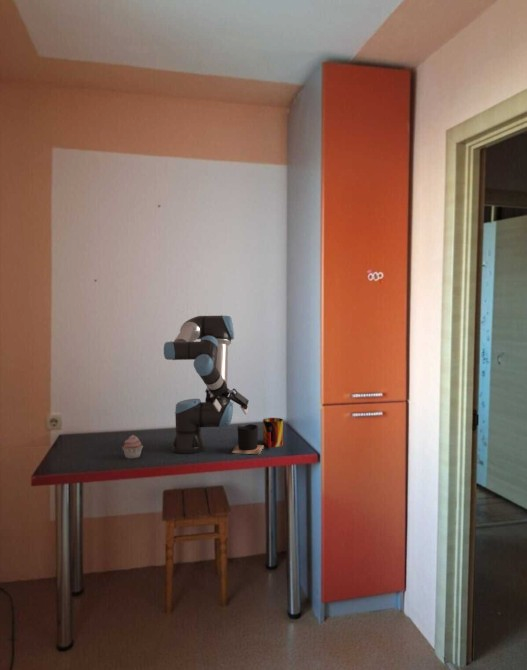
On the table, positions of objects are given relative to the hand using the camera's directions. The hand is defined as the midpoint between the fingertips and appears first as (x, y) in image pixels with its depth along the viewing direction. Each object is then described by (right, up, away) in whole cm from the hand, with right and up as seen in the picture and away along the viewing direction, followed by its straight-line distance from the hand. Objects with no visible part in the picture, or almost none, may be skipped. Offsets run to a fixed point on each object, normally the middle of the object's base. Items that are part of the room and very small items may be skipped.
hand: (233, 410), depth 224 cm
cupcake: (-45, -21, +1) cm, 50 cm away
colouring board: (+6, -20, +9) cm, 23 cm away
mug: (+19, -20, +18) cm, 32 cm away
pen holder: (+6, -19, +9) cm, 22 cm away
